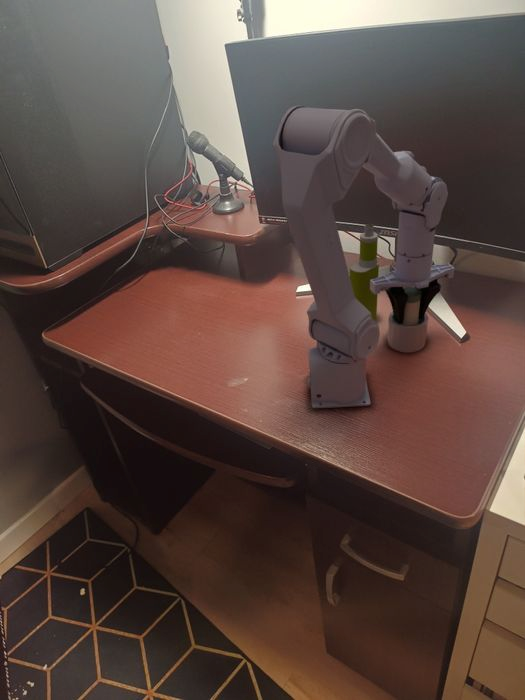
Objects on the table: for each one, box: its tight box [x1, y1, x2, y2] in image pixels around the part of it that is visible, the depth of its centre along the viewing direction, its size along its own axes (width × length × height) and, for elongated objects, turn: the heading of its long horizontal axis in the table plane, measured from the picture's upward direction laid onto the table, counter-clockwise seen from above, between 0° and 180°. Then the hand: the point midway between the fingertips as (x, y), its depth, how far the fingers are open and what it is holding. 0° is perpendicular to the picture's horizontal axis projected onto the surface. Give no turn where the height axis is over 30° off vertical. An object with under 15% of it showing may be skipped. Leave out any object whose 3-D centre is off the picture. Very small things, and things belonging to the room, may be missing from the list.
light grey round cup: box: [387, 310, 429, 353], centre depth 86 cm, size 7×7×6 cm
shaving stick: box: [400, 286, 422, 326], centre depth 83 cm, size 4×4×8 cm
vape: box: [349, 223, 380, 322], centre depth 88 cm, size 4×6×20 cm, turn 129°
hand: (408, 318), depth 84 cm, fingers closed on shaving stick, 3 cm apart
